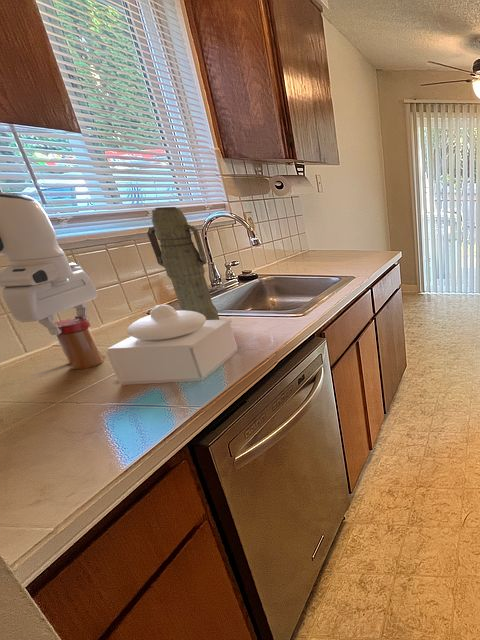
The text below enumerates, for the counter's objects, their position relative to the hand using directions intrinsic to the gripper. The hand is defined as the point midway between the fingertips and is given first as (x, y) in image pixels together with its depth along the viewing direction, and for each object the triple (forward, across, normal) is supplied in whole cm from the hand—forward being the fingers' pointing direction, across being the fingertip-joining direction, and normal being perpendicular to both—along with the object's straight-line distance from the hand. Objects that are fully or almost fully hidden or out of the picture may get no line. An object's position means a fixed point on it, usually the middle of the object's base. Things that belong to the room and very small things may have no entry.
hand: (71, 327), depth 95 cm
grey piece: (+10, -19, +19) cm, 29 cm away
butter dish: (+10, +6, +25) cm, 28 cm away
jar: (+10, 0, 0) cm, 10 cm away
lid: (-1, 0, 0) cm, 1 cm away
